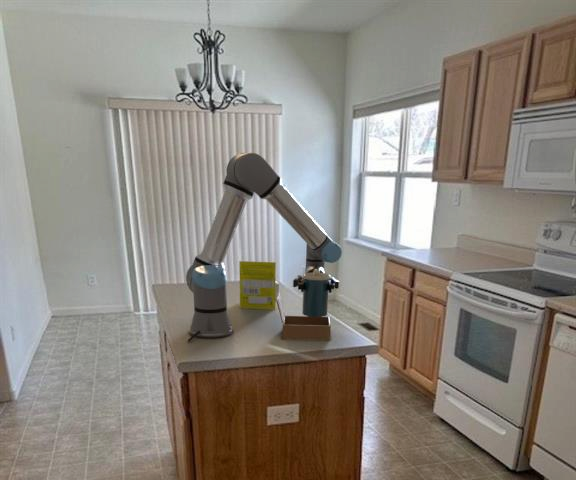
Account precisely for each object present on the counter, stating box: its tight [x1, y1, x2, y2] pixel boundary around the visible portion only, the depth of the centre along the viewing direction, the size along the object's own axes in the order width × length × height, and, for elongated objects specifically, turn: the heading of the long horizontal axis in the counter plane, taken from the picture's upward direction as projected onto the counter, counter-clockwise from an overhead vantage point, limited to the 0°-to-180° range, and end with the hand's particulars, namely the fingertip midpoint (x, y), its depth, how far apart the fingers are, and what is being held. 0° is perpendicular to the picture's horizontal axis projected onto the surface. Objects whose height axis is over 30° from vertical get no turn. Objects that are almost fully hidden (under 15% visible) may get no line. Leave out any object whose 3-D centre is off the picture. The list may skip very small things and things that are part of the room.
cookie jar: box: [301, 269, 331, 317], centre depth 189 cm, size 10×10×16 cm
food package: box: [238, 260, 277, 310], centre depth 227 cm, size 15×1×20 cm, turn 84°
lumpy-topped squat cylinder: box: [275, 280, 280, 301], centre depth 248 cm, size 10×13×9 cm
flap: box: [275, 292, 286, 324], centre depth 192 cm, size 8×13×1 cm
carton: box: [282, 315, 331, 341], centre depth 194 cm, size 17×13×5 cm
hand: (316, 288), depth 184 cm, fingers closed on cookie jar, 9 cm apart
